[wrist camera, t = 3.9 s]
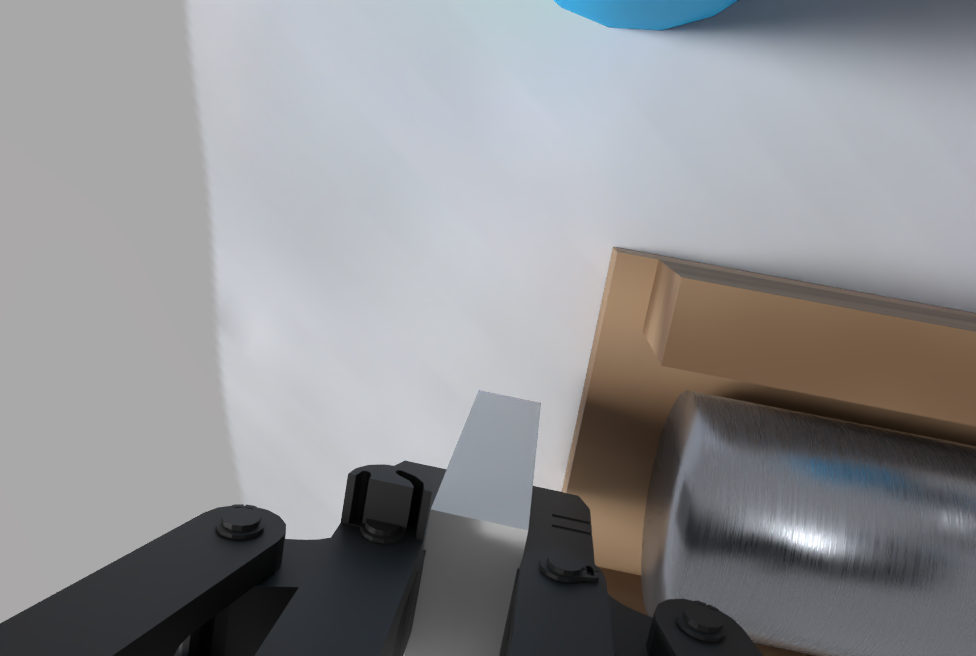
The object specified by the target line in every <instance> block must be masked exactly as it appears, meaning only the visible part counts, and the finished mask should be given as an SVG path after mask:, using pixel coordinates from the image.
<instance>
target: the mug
mask: <svg viewBox="0 0 976 656" xmlns="http://www.w3.org/2000/svg"><path fill="white" fill-rule="evenodd" d="M554 1H555V2H556V3H557V4H558V5H559V6H560V7H562V8H564V9H566V10H569V11H571V12H574V13H576V14H578V15H581V16H583V17H585V18H588V19H590V20H593V21H595V22H597V23H600V24H602V25H605V26H607V27H612V28H629V29H645V30H664V29H668V28H672V27H676V26H679V25H683V24H687V23H691V22H694V21H698V20H702V19H706V18H709V17H713V16H715V15H716V14H718V13H719V12H721V11H722V10H724V9H726V8H727V7H729V6H730V5H732V4H733V3H735V2H737V1H738V0H554Z"/></svg>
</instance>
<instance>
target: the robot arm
mask: <svg viewBox="0 0 976 656" xmlns="http://www.w3.org/2000/svg"><path fill="white" fill-rule="evenodd" d="M540 406H541V403H538V402H533V401H528V400H523V399H518V398H514V397H509V396H504V395H499V394H494V393H489V392H484V391H480V390H479V391H478V394H477V396H476V399H475V401H474V404H473V406H472V409H471V411H470V414H469V416H468V419H467V421H466V423H465V426H464V428H463V431H462V433H461V436H460V438H459V441H458V443H457V446H456V448H455V451H454V453H453V456H452V458H451V460H450V463H449V465H448V468H447V470H446V469H441V468H437V467H432V466H427V465H423V464H418V463H413V462H408V461H404V462H401V463H399V464H397V465H395V466H391V465H367V466H363V467H359V468H356V469H354V470H353V471H352V472H350V473H349V474H348V479H347V486H346V492H345V499H344V505H343V512H342V518H341V523H340V525H339V526H338V528H337V529H336V531H335V532H334V534H333V536H332V537H331V538H326V539H320V540H294V539H285V533H286V524H285V523H284V521H283V520H282V519H281V518H280V516H278V515H276V514H274V513H272V512H270V511H268V510H265V509H261V508H257V507H256V506H251V505H246V506H243V505H232V506H228V507H220V508H216V509H213V510H210V511H208V512H205V513H203V514H201V515H199V516H197V517H195V518H193V519H192V520H190V521H188V522H186V523H185V524H183V525H181V526H179V527H177V528H175V529H173V530H171V531H170V532H168V533H166V534H164V535H162V536H161V537H159V538H157V539H155V540H153V541H151V542H149V543H147V544H146V545H144V546H142V547H140V548H138V549H136V550H135V551H133V552H131V553H129V554H127V555H126V556H124V557H122V558H120V559H118V560H116V561H114V562H113V563H111V564H109V565H107V566H105V567H103V568H101V569H100V570H98V571H96V572H94V573H93V574H90V575H89V576H87V577H85V578H83V579H81V580H79V581H78V582H76V583H74V584H72V585H70V586H69V587H67V588H65V589H63V590H61V591H59V592H57V593H56V594H54V595H52V596H50V597H48V598H46V599H45V600H43V601H41V602H39V603H37V604H35V605H34V606H32V607H30V608H28V609H26V610H24V611H22V612H21V613H19V614H17V615H15V616H13V617H11V618H10V619H8V620H6V621H4V622H2V623H1V624H0V656H403V655H404V652H405V655H404V656H763V655H762V653H761V652H760V651H759V649H758V648H757V647H756V645H755V644H754V643H753V641H752V640H751V639H750V637H749V636H748V635H747V633H746V632H745V631H744V629H743V628H742V627H741V626H740V625H739V624H738V623H737V622H736V621H735V620H733V619H732V618H731V617H729V616H728V615H726V614H724V613H723V612H721V611H720V610H719V609H718V608H716V607H714V606H712V605H709V604H708V605H706V603H704V602H701V601H697V600H695V601H692V600H687V599H668V600H665V601H663V602H661V603H659V604H658V605H657V607H656V609H655V611H654V615H653V618H652V617H650V616H647V615H645V614H642V613H640V612H638V611H635V610H633V609H631V608H629V607H627V606H625V605H623V604H621V603H620V602H618V601H617V600H615V599H614V598H612V597H611V596H610V595H609V594H608V592H607V583H606V579H605V576H604V574H603V572H602V570H600V569H599V568H598V567H597V566H596V565H595V561H594V549H593V538H592V526H591V514H590V509H589V507H588V506H587V505H586V504H585V503H584V501H583V500H582V499H581V498H580V497H579V496H577V495H573V494H568V493H563V492H559V491H554V490H549V489H545V488H540V487H535V486H533V478H534V467H535V457H536V447H537V437H538V427H539V416H540Z"/></svg>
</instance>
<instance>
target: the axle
mask: <svg viewBox="0 0 976 656" xmlns="http://www.w3.org/2000/svg"><path fill="white" fill-rule="evenodd" d="M641 581H642V594H643V600H644V605H645V609H646V612H647V614H648V616H650V617H652V618H653V615H654V611H655V609H656V607H657V605H658V604H659V603H661V602H663V601H665V600H668V599H687V600H692V601H695V600H697V601H701V602H704V603H706V605H708V604H709V605H712V606H714V607H716V608H718V609H719V610H720V611H721V612H723V613H724V614H726V615H728V616H729V617H731V618H732V619H733V620H735V621H736V622H737V623H738V624H739V625H740V626H741V627H742V628H743V629H744V631H745V632H746V633H747V635H748V636H749V637H750V639H751V640H752V641H753V642H754V643H758V644H763V645H768V646H772V647H777V648H782V649H786V650H791V651H796V652H800V653H805V654H810V655H814V656H976V446H972V445H967V444H962V443H956V442H951V441H946V440H941V439H936V438H931V437H926V436H920V435H915V434H910V433H905V432H900V431H895V430H890V429H884V428H879V427H874V426H869V425H864V424H859V423H853V422H848V421H843V420H838V419H833V418H828V417H823V416H817V415H812V414H807V413H802V412H797V411H792V410H787V409H781V408H776V407H771V406H766V405H761V404H756V403H751V402H745V401H740V400H735V399H730V398H725V397H720V396H715V395H709V394H704V393H699V392H694V391H689V390H688V391H684V392H683V393H681V395H680V396H679V397H678V398H677V400H676V401H675V403H674V405H673V407H672V408H671V410H670V413H669V415H668V417H667V420H666V423H665V425H664V428H663V431H662V434H661V437H660V441H659V444H658V448H657V452H656V456H655V460H654V464H653V469H652V473H651V478H650V483H649V489H648V495H647V502H646V508H645V516H644V525H643V536H642V552H641Z"/></svg>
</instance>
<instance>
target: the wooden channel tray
mask: <svg viewBox="0 0 976 656" xmlns="http://www.w3.org/2000/svg"><path fill="white" fill-rule="evenodd" d="M688 390H689V391H694V392H699V393H704V394H709V395H715V396H720V397H725V398H730V399H735V400H740V401H745V402H751V403H756V404H761V405H766V406H771V407H776V408H781V409H787V410H792V411H797V412H802V413H807V414H812V415H817V416H823V417H828V418H833V419H838V420H843V421H848V422H853V423H859V424H864V425H869V426H874V427H879V428H884V429H890V430H895V431H900V432H905V433H910V434H915V435H920V436H926V437H931V438H936V439H941V440H946V441H951V442H956V443H962V444H967V445H972V446H976V313H971V312H966V311H960V310H955V309H949V308H944V307H938V306H933V305H927V304H922V303H917V302H911V301H906V300H900V299H895V298H889V297H884V296H878V295H873V294H867V293H862V292H857V291H851V290H846V289H840V288H835V287H829V286H824V285H818V284H813V283H807V282H802V281H797V280H791V279H786V278H780V277H775V276H769V275H764V274H758V273H753V272H747V271H742V270H737V269H731V268H726V267H720V266H715V265H709V264H704V263H698V262H693V261H687V260H682V259H677V258H671V257H666V256H660V255H655V254H649V253H644V252H638V251H633V250H628V249H622V248H617V247H613V251H612V255H611V260H610V265H609V270H608V274H607V279H606V284H605V289H604V293H603V298H602V303H601V308H600V312H599V317H598V322H597V327H596V331H595V336H594V341H593V346H592V350H591V355H590V360H589V365H588V369H587V374H586V379H585V384H584V388H583V393H582V398H581V403H580V407H579V412H578V417H577V422H576V427H575V431H574V436H573V441H572V446H571V450H570V455H569V460H568V465H567V469H566V474H565V479H564V484H563V488H562V492H563V493H568V494H573V495H577V496H579V497H580V498H581V499H582V500H583V501H584V503H585V504H586V505H587V506H588V507H589V509H590V514H591V526H592V538H593V549H594V561H595V565H596V566H597V567H598V568H599V569H600V570H602V572H603V574H604V576H605V579H606V583H607V592H608V594H609V595H610V596H611V597H612V598H614V599H615V600H617V601H618V602H620V603H621V604H623V605H625V606H627V607H629V608H631V609H633V610H635V611H638V612H640V613H642V614H645V615H647V616H648V614H647V612H646V609H645V605H644V600H643V594H642V581H641V552H642V536H643V525H644V516H645V508H646V502H647V495H648V489H649V483H650V478H651V473H652V469H653V464H654V460H655V456H656V452H657V448H658V444H659V441H660V437H661V434H662V431H663V428H664V425H665V423H666V420H667V417H668V415H669V413H670V410H671V408H672V407H673V405H674V403H675V401H676V400H677V398H678V397H679V396H680V395H681V393H683V392H684V391H688ZM753 643H754V642H753ZM754 644H755V645H756V647H757V648H758V649H759V651H760V652H761V653H762V655H763V656H814V655H810V654H805V653H800V652H796V651H791V650H786V649H782V648H777V647H772V646H768V645H763V644H758V643H754Z"/></svg>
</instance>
